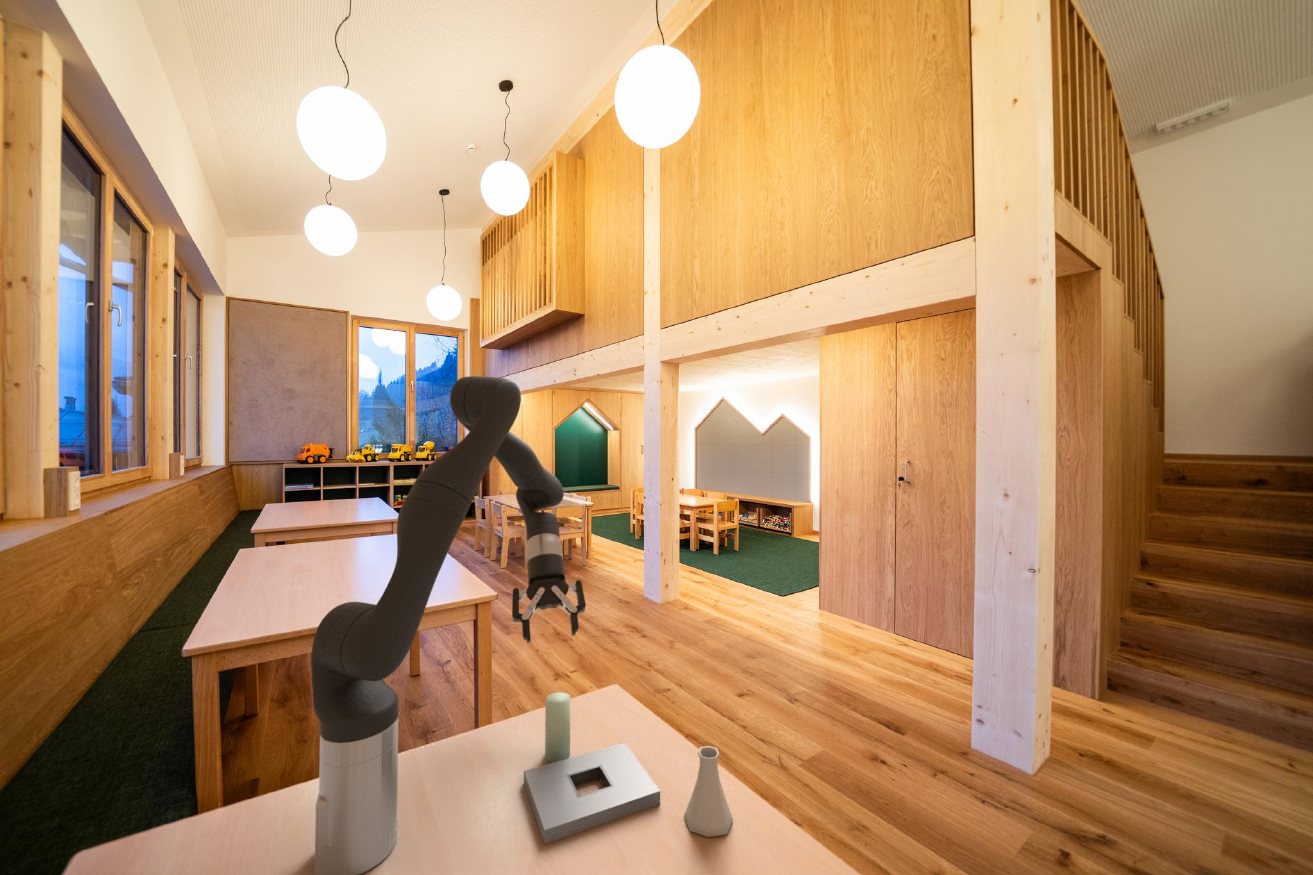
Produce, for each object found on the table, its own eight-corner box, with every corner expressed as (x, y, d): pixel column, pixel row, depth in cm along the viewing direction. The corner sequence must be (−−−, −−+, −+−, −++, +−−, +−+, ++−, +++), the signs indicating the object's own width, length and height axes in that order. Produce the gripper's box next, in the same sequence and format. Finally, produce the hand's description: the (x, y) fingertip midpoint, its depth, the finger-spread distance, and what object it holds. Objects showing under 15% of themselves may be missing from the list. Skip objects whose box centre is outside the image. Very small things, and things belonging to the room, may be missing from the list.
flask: (731, 804, 77) (731, 739, 77) (734, 841, 70) (734, 769, 70) (685, 800, 78) (685, 736, 78) (682, 837, 71) (683, 765, 71)
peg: (548, 765, 86) (549, 707, 86) (542, 751, 90) (542, 695, 90) (573, 758, 88) (573, 701, 88) (566, 744, 92) (566, 690, 92)
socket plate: (544, 844, 69) (544, 830, 69) (523, 783, 81) (523, 770, 82) (660, 803, 77) (660, 790, 77) (625, 753, 90) (625, 742, 90)
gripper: (509, 556, 101) (512, 637, 91) (580, 548, 105) (590, 625, 95) (511, 571, 106) (514, 649, 97) (577, 563, 110) (587, 638, 101)
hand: (551, 637), depth 96 cm, fingers open, 8 cm apart
